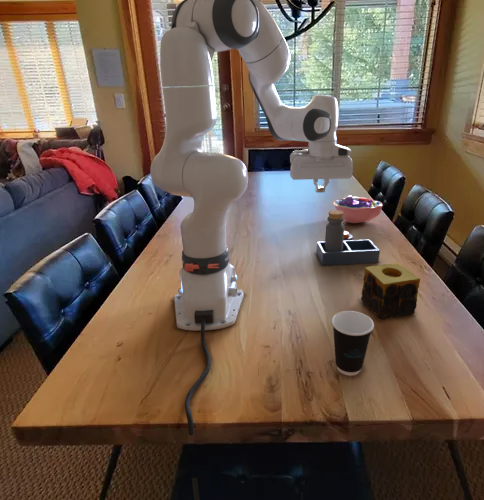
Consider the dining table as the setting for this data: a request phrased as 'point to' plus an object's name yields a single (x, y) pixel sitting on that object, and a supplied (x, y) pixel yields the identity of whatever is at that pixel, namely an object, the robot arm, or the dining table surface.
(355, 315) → the dixie cup
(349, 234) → the control block
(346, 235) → the button
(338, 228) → the bottle
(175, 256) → the dining table surface
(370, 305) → the candle
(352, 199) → the cell model
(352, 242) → the tray
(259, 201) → the dining table surface
